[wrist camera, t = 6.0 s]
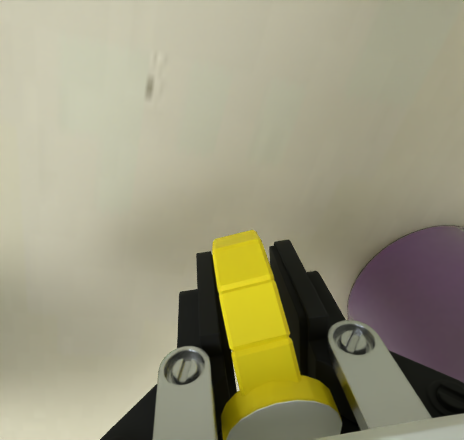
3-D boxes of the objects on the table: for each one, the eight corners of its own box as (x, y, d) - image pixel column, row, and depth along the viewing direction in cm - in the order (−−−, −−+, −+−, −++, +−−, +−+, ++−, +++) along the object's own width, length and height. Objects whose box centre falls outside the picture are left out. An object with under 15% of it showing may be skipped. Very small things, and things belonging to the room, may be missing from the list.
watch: (187, 215, 11) (186, 362, 6) (266, 196, 11) (334, 326, 6) (225, 338, 14) (247, 511, 9) (289, 322, 14) (349, 486, 9)
